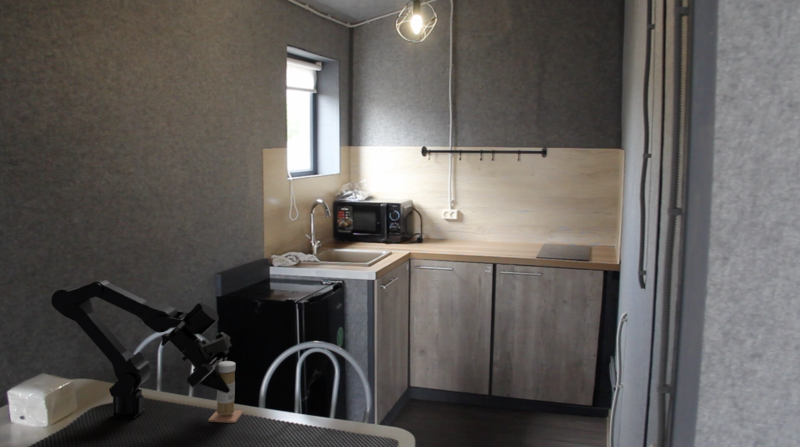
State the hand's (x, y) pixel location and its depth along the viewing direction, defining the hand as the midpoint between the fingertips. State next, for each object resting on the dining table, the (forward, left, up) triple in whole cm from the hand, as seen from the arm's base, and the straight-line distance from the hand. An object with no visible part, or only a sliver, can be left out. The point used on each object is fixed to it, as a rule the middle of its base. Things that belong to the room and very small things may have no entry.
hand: (231, 388), depth 157 cm
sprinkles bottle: (-1, 0, -7) cm, 7 cm away
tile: (-1, 0, -8) cm, 8 cm away
